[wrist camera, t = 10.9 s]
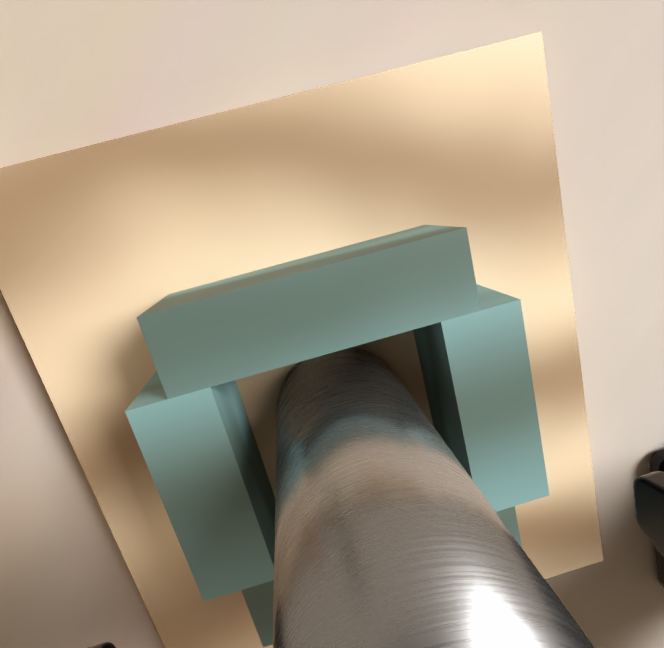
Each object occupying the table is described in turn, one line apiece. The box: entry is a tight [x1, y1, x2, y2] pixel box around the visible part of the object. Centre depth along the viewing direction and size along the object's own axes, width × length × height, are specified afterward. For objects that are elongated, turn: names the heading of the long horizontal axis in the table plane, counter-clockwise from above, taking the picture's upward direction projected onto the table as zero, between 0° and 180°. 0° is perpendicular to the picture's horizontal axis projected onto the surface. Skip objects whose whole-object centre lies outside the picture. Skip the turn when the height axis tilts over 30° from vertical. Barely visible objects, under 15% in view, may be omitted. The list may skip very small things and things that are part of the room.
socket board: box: [0, 32, 603, 648], centre depth 13 cm, size 18×16×4 cm
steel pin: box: [273, 347, 594, 648], centre depth 9 cm, size 4×4×10 cm
